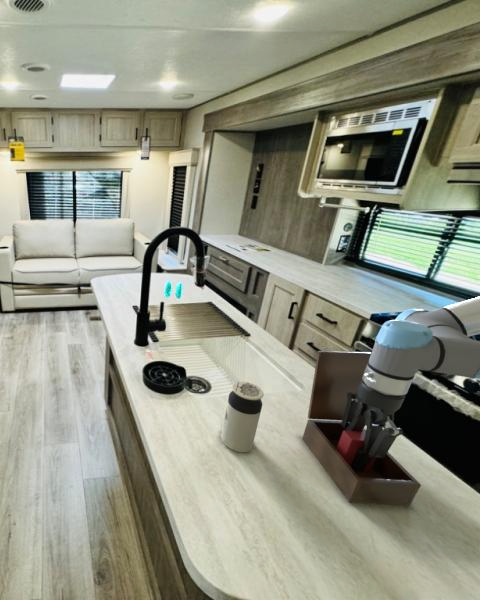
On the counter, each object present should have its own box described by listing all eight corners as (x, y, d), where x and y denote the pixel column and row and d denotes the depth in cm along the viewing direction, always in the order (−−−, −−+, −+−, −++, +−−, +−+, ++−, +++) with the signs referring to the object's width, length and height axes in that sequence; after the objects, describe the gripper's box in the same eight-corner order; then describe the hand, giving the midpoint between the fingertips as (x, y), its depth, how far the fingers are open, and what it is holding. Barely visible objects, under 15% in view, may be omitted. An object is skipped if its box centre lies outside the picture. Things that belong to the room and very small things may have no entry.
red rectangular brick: (370, 472, 77) (383, 441, 74) (339, 470, 78) (351, 439, 74) (361, 461, 80) (373, 431, 76) (332, 460, 81) (343, 430, 77)
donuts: (165, 294, 199) (166, 279, 196) (181, 295, 196) (183, 280, 192) (163, 299, 191) (164, 284, 187) (180, 301, 187) (182, 285, 184)
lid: (372, 353, 80) (355, 345, 86) (319, 351, 82) (306, 344, 87) (359, 421, 84) (343, 409, 90) (309, 419, 86) (296, 407, 91)
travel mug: (255, 440, 88) (268, 388, 82) (247, 458, 83) (260, 403, 76) (226, 426, 93) (236, 376, 87) (216, 442, 88) (226, 390, 81)
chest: (409, 506, 70) (421, 484, 68) (348, 502, 71) (358, 480, 69) (350, 441, 87) (357, 421, 85) (302, 438, 89) (308, 419, 86)
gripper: (340, 365, 78) (316, 437, 86) (395, 410, 63) (359, 491, 72) (373, 366, 77) (345, 439, 86) (435, 412, 62) (394, 494, 71)
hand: (351, 462), depth 79 cm, fingers closed on red rectangular brick, 3 cm apart
